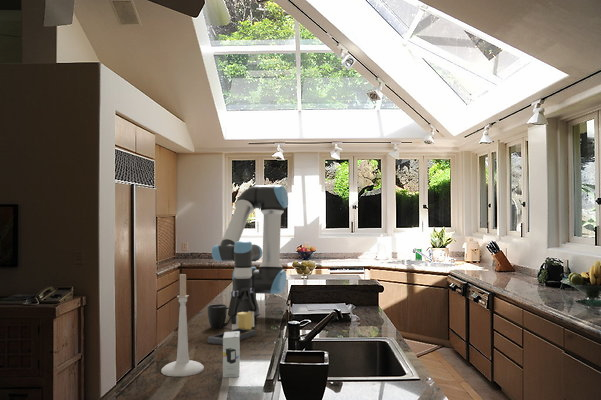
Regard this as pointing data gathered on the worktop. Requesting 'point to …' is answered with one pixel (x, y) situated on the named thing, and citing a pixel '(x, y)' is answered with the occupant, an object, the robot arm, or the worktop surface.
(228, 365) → the ink box
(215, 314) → the mug
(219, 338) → the frame with square openings
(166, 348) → the worktop surface
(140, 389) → the worktop surface
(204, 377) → the worktop surface
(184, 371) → the candlestick
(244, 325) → the yellow block
